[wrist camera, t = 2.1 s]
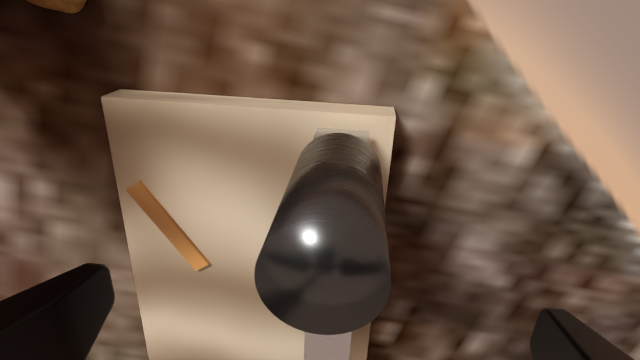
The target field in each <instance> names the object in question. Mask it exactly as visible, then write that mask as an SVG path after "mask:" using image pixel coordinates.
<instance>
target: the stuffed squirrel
mask: <svg viewBox="0 0 640 360" xmlns="http://www.w3.org/2000/svg"><path fill="white" fill-rule="evenodd" d="M26 1H28V2H31V3H33V4H35V5H38V6H41V7H44V8H48V9H51V10H57V11H62V12H66V13H76V12H79V11H80V10H81V9H82V8H83V7H84V5H85V2H86V1H87V0H26Z"/></svg>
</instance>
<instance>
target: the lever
mask: <svg viewBox="0 0 640 360" xmlns="http://www.w3.org/2000/svg"><path fill="white" fill-rule="evenodd" d="M254 278H255V285H256V289H257V292H258V294H259V296H260V298H261V300H262V302H263V303H264V305H265V306H266V307H267V309H268V310H269V311H270V312H271V313H272V314H273V315H274V316H276V317H277V318H278V319H279V320H281V321H282V322H284V323H286V324H287V325H289V326H291V327H293V328H295V329H298V330H301V331H304V332H305V338H304V360H349V355H350V344H351V334H352V331H354V330H357V329H360V328H362V327H363V326H365V325H367V324H368V323H370V322H371V321H373V320H374V319H375V318H376V317H377V316H378V315H379V314H380V313H381V312H382V310H383V309H384V307H385V306H386V304H387V301H388V299H389V296H390V292H391V273H390V261H389V250H388V239H387V228H386V216H385V205H384V194H383V183H382V172H381V165H380V161H379V159H378V156H377V155H376V153H375V151H374V150H373V149H372V147H370V146H369V131H359V130H345V129H331V128H317V130H316V132H315V135H314V138H313V141H311V142H310V143H309V144H308V145H307V146H306V147H305V148H304V149H303V151H302V152H301V154H300V156H299V158H298V161H297V163H296V166H295V168H294V171H293V173H292V175H291V178H290V180H289V183H288V185H287V188H286V190H285V192H284V195H283V197H282V200H281V202H280V205H279V207H278V210H277V212H276V214H275V217H274V219H273V222H272V224H271V227H270V229H269V232H268V234H267V236H266V239H265V241H264V244H263V246H262V249H261V251H260V253H259V256H258V259H257V261H256V265H255V271H254Z"/></svg>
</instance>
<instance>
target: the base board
mask: <svg viewBox="0 0 640 360" xmlns="http://www.w3.org/2000/svg"><path fill="white" fill-rule="evenodd" d="M101 101H102V106H103V112H104V117H105V123H106V128H107V133H108V139H109V144H110V150H111V155H112V161H113V166H114V172H115V177H116V182H117V188H118V193H119V199H120V204H121V210H122V215H123V221H124V226H125V231H126V237H127V242H128V248H129V253H130V259H131V264H132V269H133V275H134V280H135V286H136V291H137V297H138V302H139V308H140V313H141V318H142V324H143V329H144V335H145V340H146V346H147V351H148V357H149V360H304V338H305V332H304V331H301V330H298V329H295V328H293V327H291V326H289V325H287V324H286V323H284V322H282V321H281V320H279V319H278V318H277V317H276V316H274V315H273V314H272V313H271V312H270V311H269V310H268V309H267V307H266V306H265V305H264V303H263V302H262V300H261V298H260V296H259V294H258V292H257V289H256V285H255V278H254V271H255V265H256V261H257V259H258V256H259V253H260V251H261V249H262V246H263V244H264V241H265V239H266V236H267V234H268V232H269V229H270V227H271V224H272V222H273V219H274V217H275V214H276V212H277V210H278V207H279V205H280V202H281V200H282V197H283V195H284V192H285V190H286V188H287V185H288V183H289V180H290V178H291V175H292V173H293V171H294V168H295V166H296V163H297V161H298V158H299V156H300V154H301V152H302V151H303V149H304V148H305V147H306V146H307V145H308V144H309V143H310V142H311V141H313V138H314V135H315V132H316V130H317V128H331V129H345V130H359V131H369V146H370V147H372V149H373V150H374V151H375V153H376V155H377V156H378V159H379V161H380V165H381V172H382V183H383V194H384V205H385V203H386V195H387V187H388V179H389V171H390V162H391V154H392V146H393V138H394V130H395V121H396V114H395V110H394V107H385V106H370V105H355V104H339V103H324V102H309V101H294V100H278V99H263V98H248V97H233V96H218V95H202V94H187V93H172V92H157V91H141V90H126V89H120V90H117V91H115V92H112V93H109V94H107V95H104V96H102V97H101ZM370 326H371V322H370V323H368V324H367V325H365V326H363V327H362V328H360V329H357V330H354V331H352V334H351V344H350V355H349V360H366V359H367V351H368V343H369V334H370Z"/></svg>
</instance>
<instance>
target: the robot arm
mask: <svg viewBox="0 0 640 360" xmlns="http://www.w3.org/2000/svg"><path fill="white" fill-rule="evenodd" d="M114 299H115V295H114V289H113V285H112V280H111V275H110V271H109V268H108V267H107V266H106V265H104V264H95V263H86V264H83V265H81V266H79V267H77V268H74V269H72V270H70V271H67V272H65V273H63V274H61V275H58V276H56V277H54V278H52V279H49V280H47V281H45V282H42V283H40V284H38V285H36V286H33V287H31V288H29V289H27V290H24V291H22V292H20V293H17V294H15V295H13V296H11V297H8V298H6V299H4V300H2V301H0V360H85V359H86V357H87V355H88V354H89V352H90V350H91V348H92V346H93V344H94V342H95V340H96V338H97V336H98V334H99V332H100V330H101V328H102V326H103V324H104V322H105V320H106V318H107V316H108V315H109V313H110V311H111V309H112V306H113V304H114ZM530 348H531V353H532V357H533V360H634V359H633V358H631V357H630V356H629V355H627V354H626V353H624V352H623V351H622V350H620V349H619V348H617V347H616V346H615V345H613V344H612V343H611V342H609V341H608V340H606V339H605V338H604V337H602V336H601V335H599V334H598V333H597V332H595V331H594V330H592V329H591V328H590V327H588V326H587V325H586V324H584V323H583V322H581V321H580V320H579V319H577V318H576V317H574V316H573V315H572V314H570V313H569V312H567V311H565V310H562V309H552V308H544V309H542V310H541V311H540V313H539V316H538V319H537V321H536V324H535V327H534V330H533V333H532V336H531V341H530Z"/></svg>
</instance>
